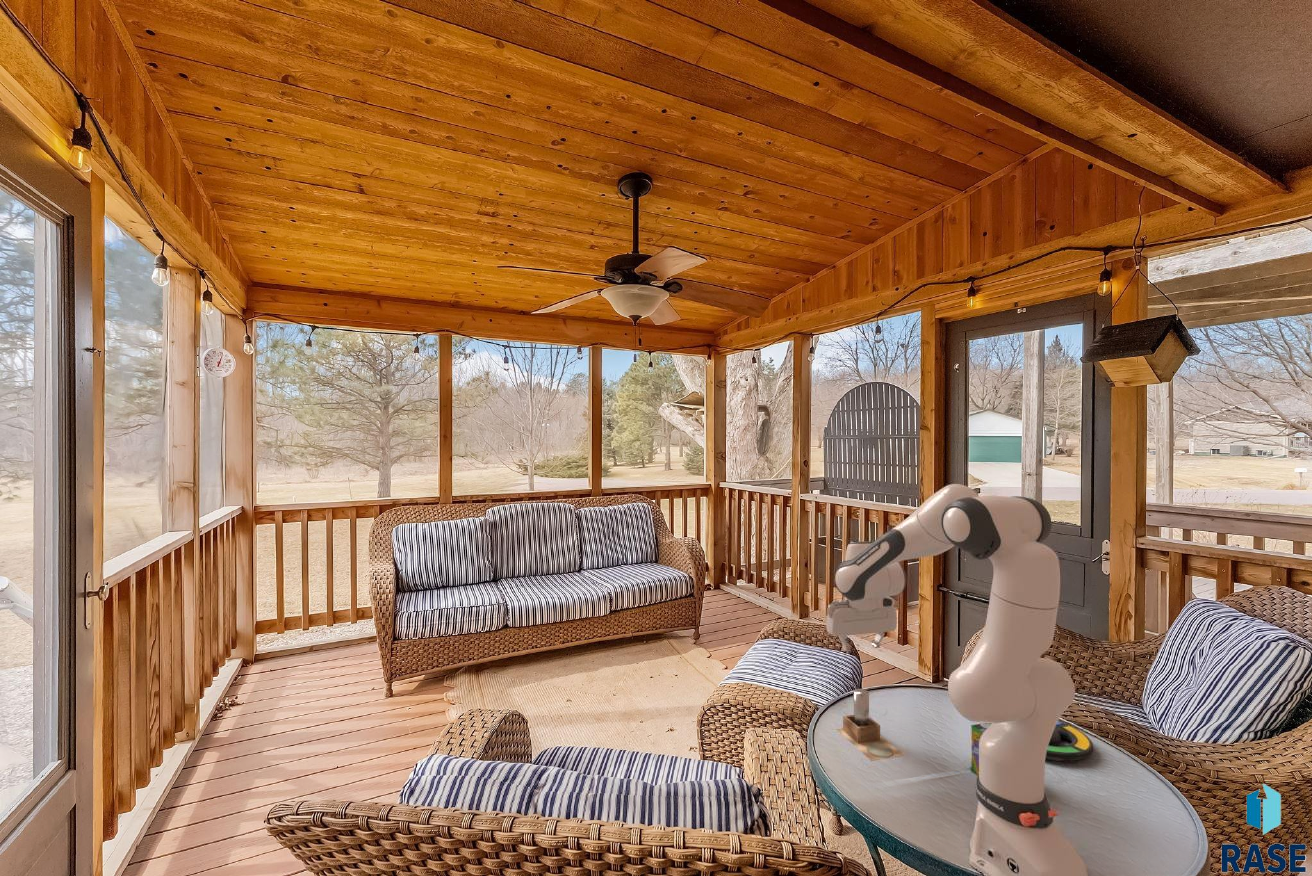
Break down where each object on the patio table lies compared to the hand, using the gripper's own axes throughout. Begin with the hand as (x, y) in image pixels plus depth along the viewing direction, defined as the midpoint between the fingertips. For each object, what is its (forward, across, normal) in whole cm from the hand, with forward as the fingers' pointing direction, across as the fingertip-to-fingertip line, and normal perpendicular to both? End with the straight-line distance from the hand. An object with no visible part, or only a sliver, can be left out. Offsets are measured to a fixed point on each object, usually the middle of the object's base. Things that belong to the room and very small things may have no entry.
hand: (861, 648), depth 157 cm
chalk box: (+25, +22, -25) cm, 41 cm away
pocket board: (+25, 0, -4) cm, 25 cm away
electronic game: (+25, +47, -14) cm, 55 cm away
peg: (+24, 0, 0) cm, 24 cm away
